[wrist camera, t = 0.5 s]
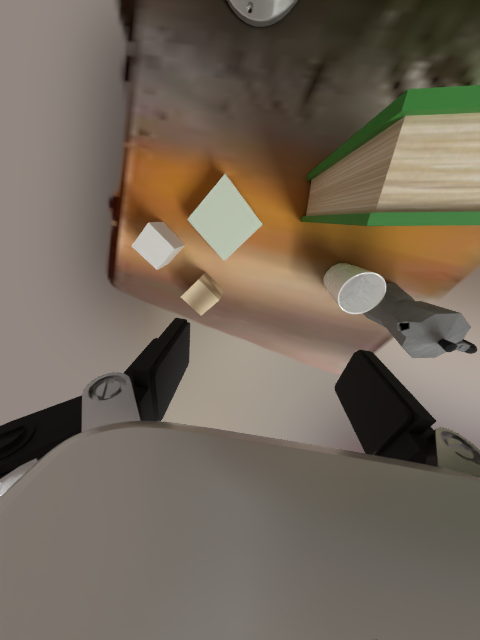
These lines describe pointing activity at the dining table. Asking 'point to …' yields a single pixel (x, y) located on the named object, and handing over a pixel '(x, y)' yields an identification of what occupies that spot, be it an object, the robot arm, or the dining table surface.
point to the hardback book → (406, 165)
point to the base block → (224, 218)
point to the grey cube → (158, 244)
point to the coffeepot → (421, 324)
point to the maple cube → (203, 294)
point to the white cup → (354, 287)
